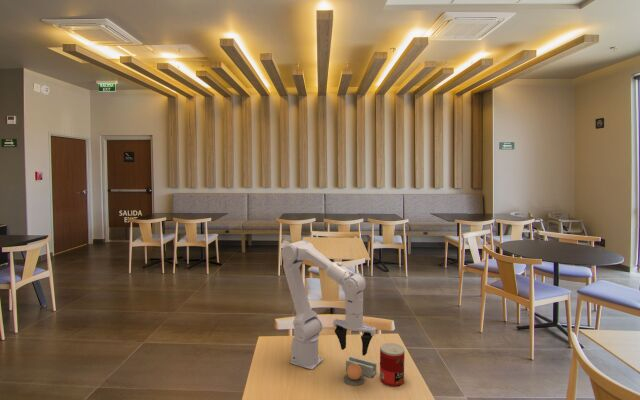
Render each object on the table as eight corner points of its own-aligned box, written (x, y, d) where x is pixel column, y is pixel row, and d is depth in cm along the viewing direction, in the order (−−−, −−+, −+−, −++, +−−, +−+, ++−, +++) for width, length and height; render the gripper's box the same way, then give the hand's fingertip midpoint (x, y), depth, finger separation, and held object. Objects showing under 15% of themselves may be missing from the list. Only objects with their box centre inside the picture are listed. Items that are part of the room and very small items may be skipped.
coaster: (339, 381, 124) (339, 381, 124) (349, 371, 130) (349, 370, 130) (359, 387, 121) (359, 387, 121) (367, 377, 127) (367, 376, 127)
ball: (344, 380, 125) (344, 365, 124) (350, 372, 129) (350, 358, 128) (358, 384, 122) (358, 369, 122) (364, 376, 126) (364, 362, 126)
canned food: (399, 389, 120) (399, 356, 119) (376, 381, 124) (376, 349, 123) (407, 377, 126) (407, 346, 125) (384, 371, 131) (385, 340, 130)
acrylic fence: (345, 369, 131) (345, 360, 131) (349, 365, 134) (349, 356, 134) (372, 377, 126) (372, 367, 126) (376, 373, 129) (376, 363, 129)
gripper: (379, 311, 123) (379, 351, 124) (339, 303, 130) (339, 341, 132) (371, 319, 117) (370, 361, 118) (330, 310, 124) (330, 349, 126)
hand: (354, 351), depth 125 cm, fingers open, 7 cm apart
